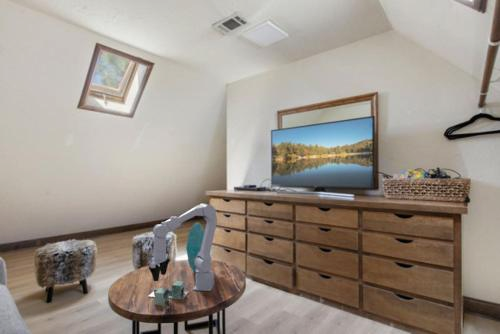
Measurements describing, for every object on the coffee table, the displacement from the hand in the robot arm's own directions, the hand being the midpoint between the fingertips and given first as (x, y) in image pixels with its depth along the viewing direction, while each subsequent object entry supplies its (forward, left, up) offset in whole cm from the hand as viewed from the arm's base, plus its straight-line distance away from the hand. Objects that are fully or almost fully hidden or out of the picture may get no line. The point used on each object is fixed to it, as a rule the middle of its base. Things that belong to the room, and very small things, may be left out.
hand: (159, 277), depth 126 cm
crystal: (-8, -35, -10) cm, 37 cm away
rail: (-3, -4, -10) cm, 11 cm away
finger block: (-3, +4, -10) cm, 11 cm away
